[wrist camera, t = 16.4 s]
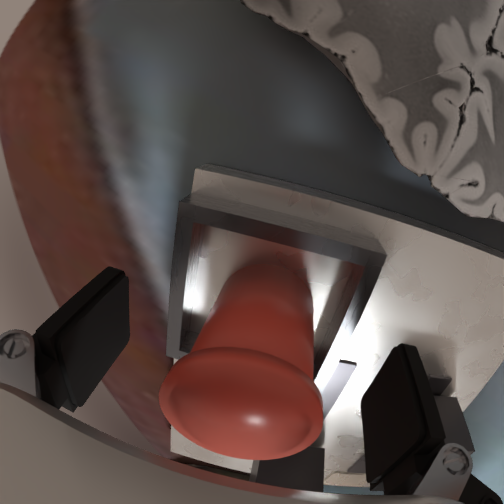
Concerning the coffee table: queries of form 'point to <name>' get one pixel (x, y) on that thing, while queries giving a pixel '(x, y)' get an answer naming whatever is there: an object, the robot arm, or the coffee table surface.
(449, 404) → the block
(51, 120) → the coffee table surface
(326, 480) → the panel
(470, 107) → the brain slice
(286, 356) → the cap
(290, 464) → the breaker
